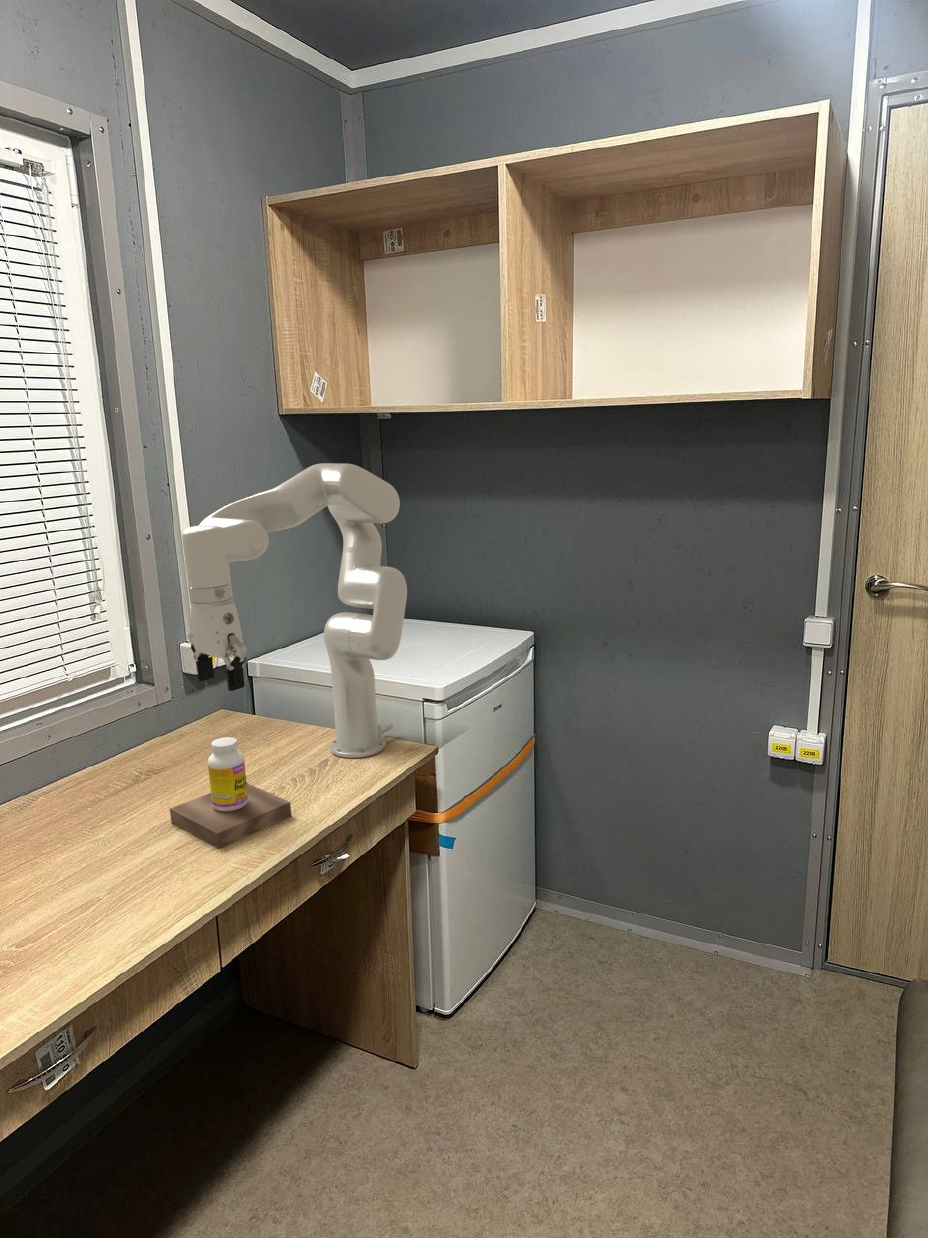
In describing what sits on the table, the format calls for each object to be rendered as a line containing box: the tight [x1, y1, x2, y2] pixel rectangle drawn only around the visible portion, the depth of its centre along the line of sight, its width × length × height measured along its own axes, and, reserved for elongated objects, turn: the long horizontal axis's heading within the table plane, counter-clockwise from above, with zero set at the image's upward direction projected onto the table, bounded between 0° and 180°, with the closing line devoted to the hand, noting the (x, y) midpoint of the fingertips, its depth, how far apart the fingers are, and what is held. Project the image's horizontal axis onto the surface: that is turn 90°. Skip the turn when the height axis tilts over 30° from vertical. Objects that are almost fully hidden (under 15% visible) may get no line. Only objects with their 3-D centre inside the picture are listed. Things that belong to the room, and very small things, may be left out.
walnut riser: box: [169, 782, 292, 850], centre depth 166 cm, size 16×16×3 cm
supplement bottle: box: [207, 736, 248, 812], centre depth 164 cm, size 7×7×13 cm
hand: (221, 684), depth 162 cm, fingers open, 9 cm apart
